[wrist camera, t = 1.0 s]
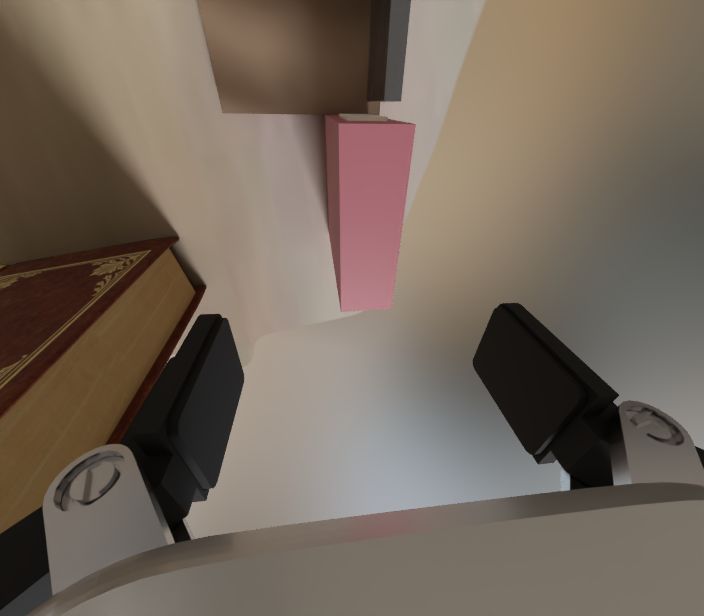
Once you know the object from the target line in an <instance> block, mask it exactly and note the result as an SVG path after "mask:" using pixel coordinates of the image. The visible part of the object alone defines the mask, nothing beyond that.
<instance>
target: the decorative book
mask: <svg viewBox="0 0 704 616" xmlns="http://www.w3.org/2000/svg"><path fill="white" fill-rule="evenodd" d="M178 240H179V238H178V237H171V238H161V239H153V240H146V241H140V242H134V243H128V244H123V245H117V246H111V247H106V248H100V249H94V250H89V251H83V252H78V253H72V254H66V255H61V256H55V257H50V258H44V259H38V260H33V261H27V262H21V263H16V264H15V265H13V266H8V265H0V534H1V533H2V532H4V531H5V530H7V529H8V528H10V527H11V526H13V525H14V524H16V523H17V522H19V521H20V520H22V519H23V518H25V517H26V516H28V515H29V514H31V513H32V512H34V511H35V510H37V509H38V508H40V507H41V506H43V501H44V496H45V494H46V492H47V490H48V488H49V486H50V484H51V483H52V482H53V481H54V479H55V478H56V477H57V476H58V474H59V473H60V472H61V471H62V470H64V469H65V468H66V467H67V466H68V465H69V464H70V463H71V462H73V461H74V460H76V459H77V458H79V457H80V456H82V455H83V454H85V453H87V452H89V451H91V450H93V449H95V448H97V447H101V446H105V445H109V444H119V443H120V441H121V439H122V438H123V436H124V434H125V433H126V431H127V429H128V427H129V426H130V424H131V422H132V421H133V419H134V417H135V416H136V414H137V412H138V411H139V409H140V407H141V406H142V404H143V402H144V401H145V399H146V397H147V396H148V394H149V392H150V391H151V389H152V387H153V386H154V384H155V382H156V381H157V379H158V377H159V376H160V374H161V372H162V371H163V369H164V367H165V365H166V363H167V361H168V360H169V358H170V356H171V354H172V352H173V351H174V349H175V347H176V345H177V343H178V341H179V340H180V338H181V336H182V334H183V332H184V331H185V329H186V327H187V325H188V323H189V322H190V320H191V318H192V316H193V314H194V312H195V311H196V309H197V307H198V305H199V303H200V301H201V299H202V297H203V295H204V292H205V290H206V286H202V287H198V288H194V289H193V287H192V285H191V284H190V282H189V280H188V279H187V277H186V275H185V274H184V272H183V270H182V269H181V267H180V265H179V264H178V262H177V260H176V259H175V257H174V255H173V254H172V252H171V250H170V249H169V247H171V246H172V245H173V244H174V243H176V242H177V241H178Z"/></svg>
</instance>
